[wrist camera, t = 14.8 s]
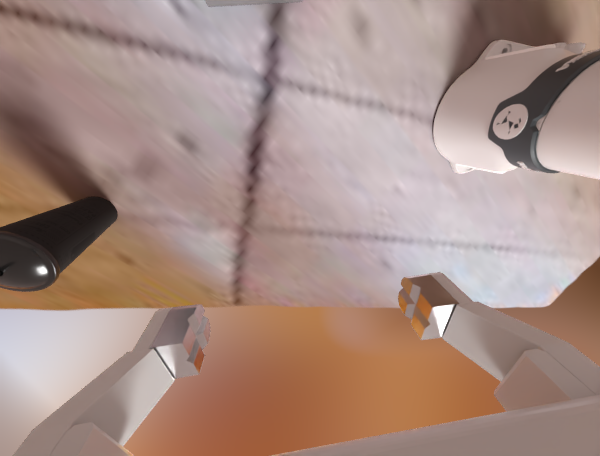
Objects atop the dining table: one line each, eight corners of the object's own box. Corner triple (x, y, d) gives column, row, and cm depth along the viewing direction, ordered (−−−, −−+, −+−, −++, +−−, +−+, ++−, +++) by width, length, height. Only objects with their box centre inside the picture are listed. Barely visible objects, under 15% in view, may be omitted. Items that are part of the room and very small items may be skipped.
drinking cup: (102, 180, 31) (-99, 264, 14) (138, 222, 35) (15, 328, 18) (57, 198, 32) (-195, 302, 14) (97, 237, 36) (-63, 357, 18)
